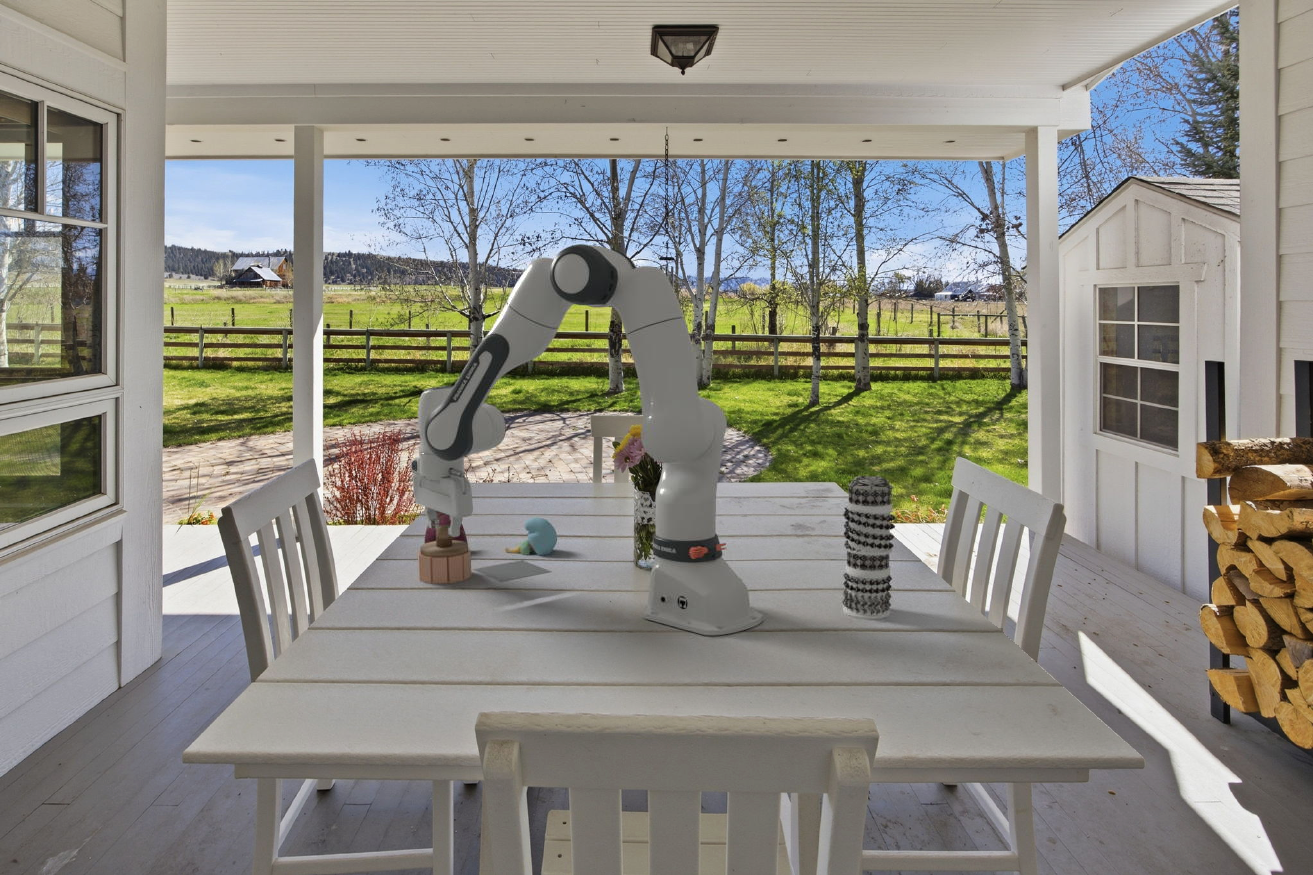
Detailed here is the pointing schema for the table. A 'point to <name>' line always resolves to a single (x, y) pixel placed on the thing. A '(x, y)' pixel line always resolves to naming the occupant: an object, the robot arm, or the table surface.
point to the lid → (443, 545)
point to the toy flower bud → (537, 538)
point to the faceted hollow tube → (444, 568)
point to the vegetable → (443, 520)
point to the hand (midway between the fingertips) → (443, 532)
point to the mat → (512, 570)
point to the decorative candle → (868, 548)
